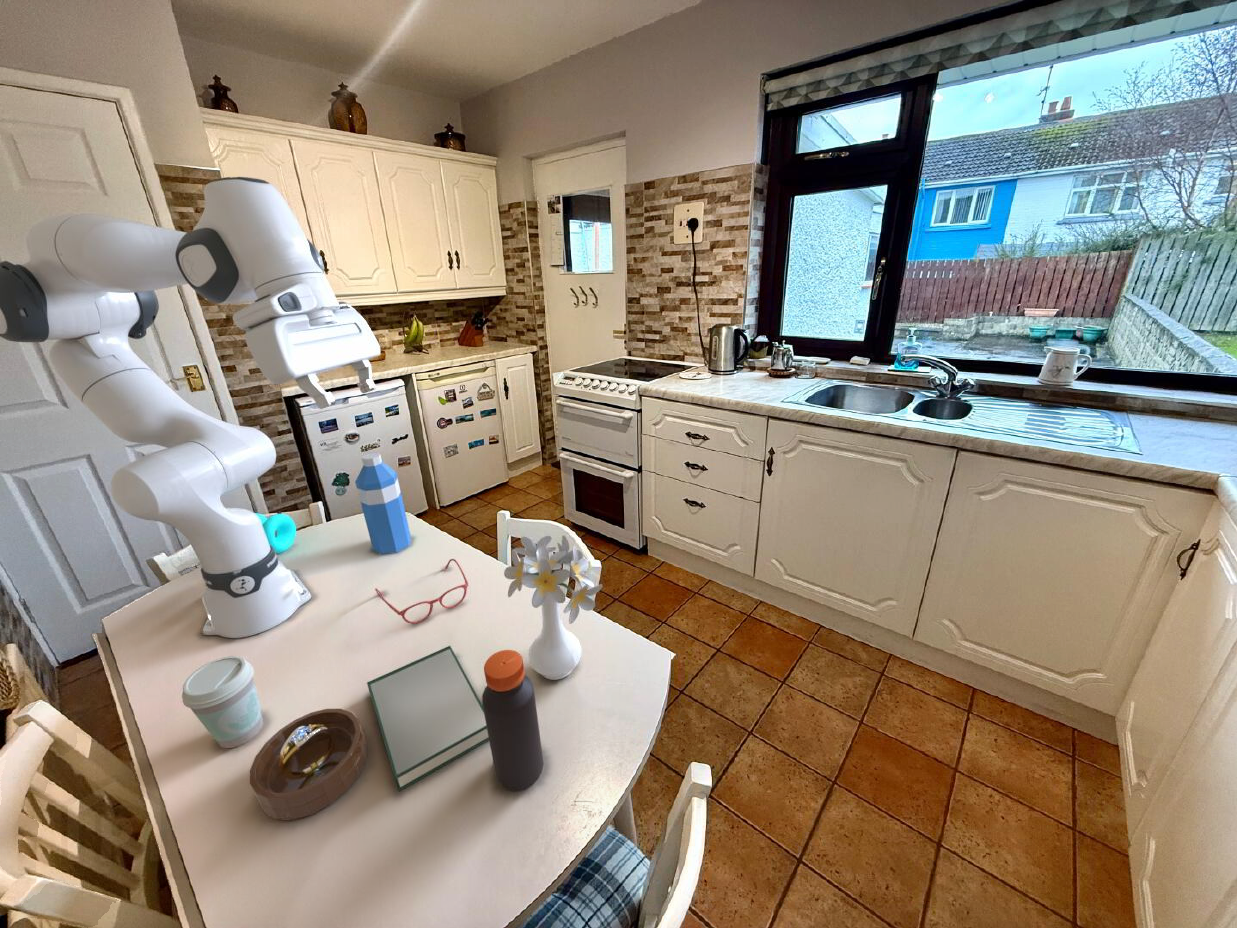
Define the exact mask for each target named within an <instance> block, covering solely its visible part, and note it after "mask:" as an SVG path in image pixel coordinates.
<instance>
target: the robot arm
mask: <svg viewBox="0 0 1237 928" xmlns="http://www.w3.org/2000/svg"><path fill="white" fill-rule="evenodd" d="M203 196H204V197H203V198H204V209H203V213H202V214H201V217H200V219H198V221H197V223H196V225H195V227H194V228H193V229H192V230H191V231H187V232H186V231H181V230H176V229H171V228H167V227H161V226H156V225H152V224H148V223H144V222H138V221H135V220H129V219H125V218H121V217H114V216H109V215H103V214H92V213H91V214H90V213H71V214H70V213H69V214H62V215H61V214H60V215H56V216H51V217H48V218H45V219H42V220H40V221H37V222H36V223H35V224H33V225H32V226H31V227H30V228H29V229H28V231H27V234H26V238H25V244H26V247H27V251H28V254H29V256H30V257H29V258H30V259H29V260H28V261H27V262H25V263H22V264H17V263H16V264H14V263H12V262H10V261H8V260H3V261H0V338H2V339H5V340H6V341H9V342H14V343H15V342H16V343H43V342H45V341H55V340H56V341H55V342H54V343H53V344H52V345H51V347H50V349H49V354H48V357H49V361H50V363H51V365H52V366H53V368H54V370H55V371H56V373H57V374H58V375H59V377H60V378H61V380H62V382H63V383H64V384H65V385H66V386H67V388H68V389H69V390H70V391H71V392H72V394H74V395H75V397H76V398H78V400H79V401H80V402H81V403H82V404H83V405H84V406H85V407H86V408H87V409H88V410H89V411H90V412H91V413H92V414H94V415H95V417H97V418H98V420H100V421H101V422H102V424H104V426H106V427H107V428H108V429H109V430H110V431H111V432H112V433H113V434H114V435H115V436H117V437H119V438H120V439H122V440H124V441H127V442H129V443H135V444H147V445H154V446H160V447H163V448H164V449H161V450H158V451H154V452H151V453H149V454H145V455H143V456H141V457H140V458H137V459H136V460H133V461H131V462H129V463H128V464H126V465H124V466H122V467H120V468H119V469H117V470H116V471H114V473H113V475H112V477H111V481H110V493H111V496H112V498H113V500H114V503H116V505H117V506H118V507H119V508H120V509H121V510H122V511H124V512H125V513H127V514H128V515H130V516H132V517H134V518H138V519H141V520H144V521H145V520H146V521H153V522H159V523H163V524H166V525H168V526H170V527H172V528H174V529H176V530H177V531H179V532H180V533H181V534H182V535H183V536H184V537H185V538H186V539H187V541H188V542H189V544H190V546H191V548H192V550H193V552H194V554H195V555H196V557H197V560H198V562H199V564H200V566H201V568H200V574H201V577H202V580H203V582H204V583H205V585H206V587H207V588H206V589H205V591H204V593H203V595H202V596H201V601H202V604H203V607H204V609H205V612H206V614H207V619H206V622H205V623H204V624H203V627H202V634H203V635H204V636H221V637H223V638H226V639H227V638H229V639H240V638H246V637H251V636H255V635H258V634H261V633H263V632H266V631H268V630H271V629H273V628H275V627H276V626H279V625H280V624H282V623H284V622H285V621H286V620H287V619H289V618H290V617H291V616H293V615H294V613H295V612H296V611H297V610H298V609H299V608H300V607H301V606H303V605H305V604H306V603H307V602H308V601H310V600H311V599H312V595H311V593H310V591H309V590H308V589H307V587H306V586H305V585H304V583H303V582H302V581H301V580H300V578H299V577H298V575H297V574H296V573H295V571H293V569H287V568H286V566H285V565H284V564H283V563H282V562H281V561H280V560H279V558H278V555H277V553H276V552H275V550H274V549H273V547H272V546H271V545H269V542H268V540H267V537H266V534H265V531H264V529H263V526H262V523H261V520H260V518H259V517H258V516H257V515H256V514H254V513H255V512H253V511H251V510H249V509H247V508H241V507H225V506H224V504H223V502H222V500H221V498H222V497H221V496H223V495H224V494H227V493H229V492H231V491H233V490H235V489H238V488H240V487H243V486H245V485H247V484H249V483H251V482H254V481H256V479H259V477H261V476H263V475H264V474H265V473H267V472H268V471H270V470H271V469H272V468H273V467H274V466H275V464H276V460H277V451H276V447H275V445H274V443H273V441H272V440H271V439H270V437H269V436H268V435H267V434H266V433H264V432H263V431H261V430H260V429H257V428H256V427H252V426H245V425H238V424H234V423H230V422H227V421H224V420H221V419H218V418H216V417H214V416H211V415H209V414H207V413H205V412H203V411H201V410H199V409H198V408H196V407H195V406H193V405H191V404H189V403H188V402H187V401H186V400H185V399H183V398H182V397H181V396H180V395H179V394H178V393H177V392H176V391H174V390H173V388H171V387H170V386H169V385H168V384H167V383H166V382H165V381H164V380H163V379H162V378H161V377H160V376H159V375H158V374H157V373H156V372H155V371H154V370H153V369H152V368H151V367H150V366H148V364H146V363H145V362H144V361H143V360H142V359H141V358H140V357H139V356H138V355H137V354H136V353H135V352H134V351H133V349H132V347H131V346H130V342H129V338H131V339H134V340H141V339H143V338H144V337H146V335H147V329H148V328H150V327H151V326H152V325H153V324H154V323H155V320H156V318H157V316H158V313H159V309H160V304H159V299H158V296H157V294H156V292H155V291H157V290H162V289H163V290H164V289H168V288H173V287H178V286H179V287H180V286H184V285H189V286H190V288H192V290H194V291H195V292H196V294H198V295H199V296H201V298H204V299H206V300H207V301H209V302H212V303H214V304H225V305H226V304H227V305H231V304H233V305H234V304H243V303H250V304H249V305H246V306H245V307H243V308H241V309H239V310H238V311H236V312H234V313H233V314H232V319H233V321H234V323H235V325H236V327H238V328H239V330H242V331H245V334H244V339H245V343H246V346H247V348H248V350H249V352H250V354H251V356H252V358H253V360H254V361H255V364H256V365H257V367H258V369H259V370H260V372H261V373H262V375H263V377H265V379H266V380H268V381H270V382H272V383H273V384H274V385H281V384H285V383H288V382H292V381H295V382H296V384H297V386H298V388H299V389H300V390H301V391H302V392H304V393H305V394H307V395H308V396H309V397H310V398H312V399H313V401H314V402H315V404H316V406H317V408H318V409H319V410H323V409H326V408H329V407H332V406H334V405H335V404H336V403H337V401H336V399H335V398H334V395H333V392H331V391H328V392H327V391H326V390H325V389H324V388H322V386H321V385H320V384H319V383H318V382H319V381H320V380H319V378H318V376H317V375H318V374H322V373H325V372H326V373H327V372H329V371H332V370H333V371H334V370H337V369H340V368H344V367H347V366H352V368H353V371H354V372H357V375H358V382H357V383H356V385H357V387H358V388H359V391H360V393H362V394H367V393H370V392H372V391H375V390H376V389H377V386H376V383H375V382H374V380H373V370H372V369H373V368H372V364H371V361H370V360H372V359H374V358H377V357H379V356H381V346H380V344H379V342H378V340H377V338H376V336H375V335H374V332H373V331H372V330H371V327H370V326H369V324H368V322H367V321H366V320H365V318H364V317H363V316H362V315H361V314H360V313H359V312H358V311H357V310H356V309H355V308H354V307H352V306H351V305H349V304H348V303H347V302H346V301H338V299H337V297H336V295H335V293H334V291H333V289H332V287H331V285H330V283H329V281H328V279H327V277H326V275H325V266H324V261H323V259H322V258H323V257H322V256H321V254H320V253H319V250H317V247H316V246H315V245H314V244H313V243H312V242H311V241H310V240H309V238H308V237H306V235H305V232H304V230H303V228H302V227H301V224H300V222H299V220H298V219H297V217H296V215H295V213H294V212H293V210H292V209H291V207H290V205H289V203H288V202H287V200H286V199H285V198H284V196H283V195H282V193H281V192H280V191H279V190H278V189H277V188H276V187H275V185H273V184H272V183H270V182H268V181H267V180H265V179H261V178H254V177H247V176H227V177H226V176H225V177H221V178H216V179H213V180H211V181H209V182H208V183H206V185H205V186H204V188H203ZM276 514H283V513H282V511H281V510H278V511H277V512H276Z"/></svg>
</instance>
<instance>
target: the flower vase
mask: <svg viewBox="0 0 1237 928" xmlns="http://www.w3.org/2000/svg"><path fill="white" fill-rule="evenodd" d="M551 541H552V536H551V535H546V536H544V537H543V536H542V538H540V539H539V540H538V541H537V542H536V543H535V541H534V540H533V539H532V538H531V537H530V536H529V537H528V536H522V537H520V542H521V544H522V546H523V547H515V548H513V549H512V550H511V560H512V561H511V562H512V564H513V566H507V567H506V568H505V569H504V570H503V576H504V577H505V579H507V580H512V581H511V583H510V585H509V587H508V591H507V597H508V598H511V597H512V596H513V595H514V593H515V591H516V590H517V591H518V592H521V591H522V588H523V586H524V587H526V588H529V589H535V590H534V592H533V594H532V597H531V606H532V607H533V608H535V609H537V608H539V607H541V617H542V619H541V620H542V628H541V630H540V633H539V634H538V635H537V636H536V637H535V638H534V639H533V641H532V643H531V644H530V646H529V650H528V662H529V665H530V666H531V668H532V669H533V670H534V671H535V672H536V673H537V674H539V675H541V676H542V677H543V678H545V679H547V680H551V681H557V680H562V679H564V678H566V677H567V676H569V675H570V674H571V672H572V671H573V670H574V669H575V668H576V666H578V664H579V663H580V660H581V658H582V651H583V650H582V646H581V642H580V640H579V639H578V637H577V636H576V635H575V634H574V633H573V632H571V631H569V630H567V629H566V628H565V626H564V624H563V620H562V614H561V606H560V604H563V603H565V602H566V595H565V592H564V591H563V590H562V588H561V587H564V588H566V589H567V590H568V591H569V592H570V594H571V597H570V599H569V601H568V602H567V604H566V606H565V607H564V609H563V614H567V613H569V617H568V624H569V625H572V624H573V623H574V622H575V621H576V620H577V618H578V616H579V614H580V608H581V609H582V610H584V611H586V612H588V611H589V612H590V611H593V610H594V609H595V607H596V602H595V601H594V599H593V598H591V597H592V596H594V595H596V594H597V593H599V592H600V591H601V590H602V588H603V584H598V585H595V583H594V582H593V580H592V579H591V578H590V576H589V575H587V574H586V573H587V570H588V568H589V561H588V558H586V557H584V554H583V553H582V552H581V551H580V550H578V549H577V547H576V546H575V545H574V546H573V547H572V550H570V544H569V543H570V542H569V540H568V538H567V537H566V536H565V535H562V536H561V543H559V542H556V545H557V547H556V546H549V544H550V542H551ZM557 548H558V551H556V549H557ZM554 551H556V552H555V553H553V554H552V555H550V553H551V552H554ZM518 554H519V555H523V556H522V557H519V555H518ZM526 565H527V566H529V567H530V568H529V569H528V570H527V568H526ZM563 565H564V566H567V567H569V569H565V568H564V569H563ZM569 578H572V579H573V580H574V581H575V582H576V583H577V584H578V585H579V586H580V587H581V588H579V589H578V590H576V591H575V590H574V589H573V588H571V586H570V585H568V584H566V583H564V582H566V581H567V580H568V579H569Z"/></svg>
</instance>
